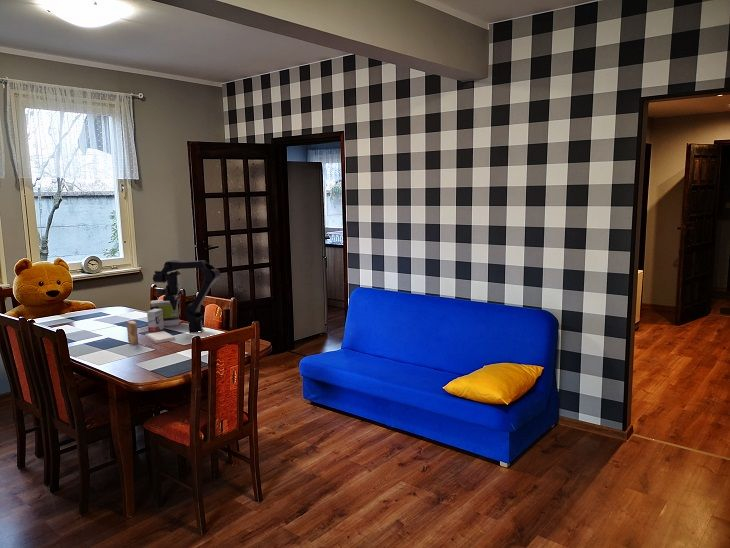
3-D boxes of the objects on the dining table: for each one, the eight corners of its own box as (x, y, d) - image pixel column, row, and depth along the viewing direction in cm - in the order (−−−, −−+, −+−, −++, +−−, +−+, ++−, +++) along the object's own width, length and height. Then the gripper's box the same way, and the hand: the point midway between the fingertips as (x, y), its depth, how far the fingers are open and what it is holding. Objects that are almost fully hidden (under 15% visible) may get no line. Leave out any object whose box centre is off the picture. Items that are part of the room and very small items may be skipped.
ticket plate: (164, 333, 307) (163, 330, 307) (175, 339, 294) (174, 336, 294) (145, 336, 301) (145, 334, 300) (156, 343, 288) (155, 340, 287)
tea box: (179, 321, 334) (177, 297, 331) (179, 325, 324) (177, 301, 322) (152, 324, 329) (150, 299, 327) (151, 328, 320) (149, 303, 317)
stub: (134, 340, 292) (132, 320, 290) (138, 343, 287) (136, 322, 285) (128, 341, 290) (126, 321, 288) (132, 344, 285) (130, 323, 283)
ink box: (155, 332, 310) (154, 311, 308) (148, 332, 311) (146, 311, 309) (164, 328, 318) (162, 308, 316) (156, 328, 319) (155, 308, 317)
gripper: (163, 280, 317) (165, 307, 319) (152, 286, 298) (154, 314, 301) (182, 279, 317) (184, 306, 320) (173, 285, 299) (175, 313, 301)
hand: (174, 310), depth 310 cm, fingers closed
